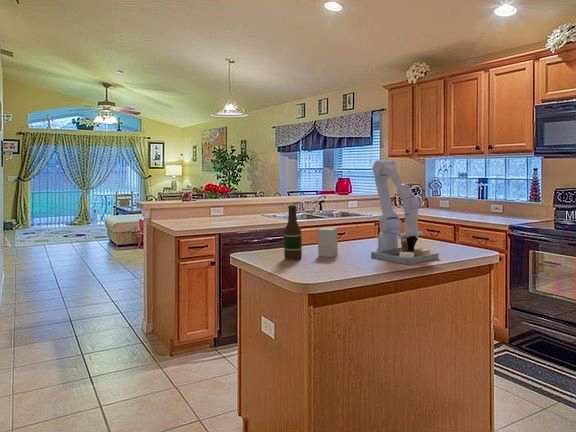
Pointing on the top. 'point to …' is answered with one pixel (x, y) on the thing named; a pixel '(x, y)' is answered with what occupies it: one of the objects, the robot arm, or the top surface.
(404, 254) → the white short round piece
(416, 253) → the kraft box
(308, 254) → the top surface
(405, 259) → the tray
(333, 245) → the supplement box
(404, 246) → the tin
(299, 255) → the beer bottle
